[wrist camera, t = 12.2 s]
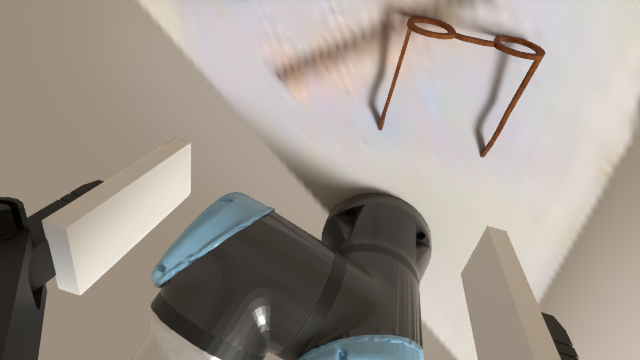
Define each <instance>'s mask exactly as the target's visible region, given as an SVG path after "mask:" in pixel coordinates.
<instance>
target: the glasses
mask: <svg viewBox="0 0 640 360" xmlns="http://www.w3.org/2000/svg"><path fill="white" fill-rule="evenodd" d="M414 23H428V24H433V25H436V26H439V27H442V28H444V29H445V30H447V31H448V33H437V32H432V31H428V30H424V29H422V28H419V27H417V26H416V25H415V24H414ZM407 27H408V30H407V34H406V37H405V41H404V44H403V47H402V51H401V54H400V57H399V61H398V64H397V68H396V71H395V74H394V78H393V81H392V84H391V88H390V91H389V94H388V97H387V101H386V104H385V107H384V109H383V112H382V115H381V119H380V124H379V130H382V128H383V125H384V120H385V115H386V112H387V109H388V105H389V102H390V99H391V96H392V93H393V90H394V87H395V83H396V80H397V77H398V73H399V70H400V67H401V64H402V60H403V57H404V54H405V50H406V47H407V44H408V41H409V37H410V34H411V31H414V32H416V33H418V34H421V35H424V36H428V37H432V38H438V39H453V38H456V39H459V40H462V41H465V42H470V43H474V44H479V45H483V46H489V47H495V48H496V49H498V50H500V51H502V52H505V53H507V54H510V55H513V56H516V57H520V58H524V59H530V60H534V62H533V63H532V65H531V67H530V69H529V71H528V72H527V74H526V76H525V78H524V79H523V81H522V83H521V85H520V87H519V88H518V90H517V92H516V94H515V95H514V97H513V99H512V101H511V102H510V104H509V106H508V108H507V110H506V111H505V113H504V115H503V117H502V119H501V121H500V123H499V125H498V127H497V129H496V131H495V133H494V135H493V136H492V138H491V140H490V141H489V143H488V144H487V146H486V147H485V149H484V150H483V152H482V155H481V157H483V158H484V157H485V155H486V154H487V152H488V151H489V150H490V148H491V147H492V146H493V144H494V142H495V141H496V139H497V137H498V136H499V134H500V132H501V131H502V129H503V127H504V125H505V123H506V121H507V119H508V117H509V115H510V114H511V112H512V110H513V108H514V107H515V105H516V103H517V101H518V100H519V98H520V96H521V95H522V93H523V91H524V89H525V88H526V86H527V84H528V82H529V81H530V79H531V77H532V76H533V74H534V72H535V70H536V69H537V67H538V65H539V63H540V62H541V60H542V58H543V57H544V55H545V51H544V50H543V49H542V48H541V47H539V46H538V45H536V44H534V43H532V42H529V41H526V40H523V39H520V38H515V37H511V36H496V37H495V39H494V41H488V40H483V39H479V38H474V37H470V36H466V35H462V34H459V33H456V31H455V29H454V28H453V27H452V26H450V25H449V24H447V23H444V22H441V21H438V20H434V19H430V18H424V17H412V18H410V19H408V22H407ZM501 41H507V42H513V43H517V44H521V45H524V46H526V47H529V48H531V49H532V50H534V51H535V52H536V53H535V54H532V53H525V52H520V51H517V50H514V49H511V48H509V47H506V46H505V45H503V44H502V43H501Z"/></svg>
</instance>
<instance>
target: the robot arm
mask: <svg viewBox="0 0 640 360" xmlns="http://www.w3.org/2000/svg"><path fill="white" fill-rule="evenodd" d="M190 193H191V142H189V141H185V140H182V139H178V138H174V139H172V140H171V141H169V142H168V143H166V144H164V145H163V146H162V147H160V148H158V149H156V150H155V151H153V152H152V153H150V154H148V155H147V156H145V157H144V158H142V159H141V160H139V161H137V162H135V163H134V164H132V165H131V166H129V167H127V168H126V169H124V170H122V171H121V172H119V173H118V174H116V175H114V176H113V177H111V178H110V179H108V180H106V181H105V182H104V181H100V180H97V181H94V182H91V183H88V184H85V185H82V186H80V187H79V188H77V189H76V190H74V191H72V192H71V193H70V194H67V195H65V196H64V197H62V198H61V199H60V200H57V201H55V202H53V203H52V204H50V205H48V206H47V207H45V208H43V209H41V210H40V211H38V212H36V213H35V214H33V215H32V216H30V217H28V218H27V216H26V212H25V208H24V205H23V203H22V202H21V201H20V200H18V199H15V198H10V197H0V360H38V354H39V347H40V339H41V332H42V324H43V316H44V309H45V302H46V295H47V289H46V284H45V283H47V282H48V281H49V280H50V279H52V278H53V277H54V276H56V280H57V284H58V287H59V289H62V290H65V291H68V292H71V293H74V294H77V295H82V293H84V292H85V291H86V290H87V289H88V288H89V287H90V286H91V285H92V284H93V283H94V282H95V281H97V280H98V279H99V278H100V277H101V276H102V275H103V274H104V273H105V272H106V271H107V270H109V269H110V268H111V266H113V265H114V264H115V263H116V262H117V261H118V260H119V259H120V258H121V257H123V256H124V255H125V254H126V253H127V252H128V251H129V250H130V249H131V248H132V247H133V246H135V245H136V244H137V243H138V242H139V241H140V240H141V239H142V238H143V237H144V236H145V235H146V234H147V233H148V232H150V231H151V230H152V229H153V228H154V227H155V226H156V225H157V224H158V223H159V222H160V221H161V220H163V219H164V218H165V217H166V216H167V215H168V214H169V213H170V212H171V211H172V210H173V209H175V208H176V207H177V206H178V205H179V204H180V203H181V202H182V201H183V200H184V199H185V198H186V197H187V196H188V195H190ZM274 210H275V209H274V208H272V207H266V206H265V205H263V204H261V203H260V202H258V201H256V200H254V199H253V198H250V197H249V196H247V195H245V194H243V193H237V192H235V193H230V194H227V195H225V196H223V197H221V198H219V199H218V200H217V201H215V202H214V203H213V204H212V205H210V206H209V207H208V208H207V209H206V210H205V211H204V212H203V213H201V214H200V215H199V217H197V218H196V219H195V220H194V221H193V222H192V223H191V224H190V225H189V226H188V227H187V229H185V231H184V232H183V233H182V234H181V235H180V236H179V237H178V238H177V239H176V240H175V242H174V243H173V244H172V245H171V246H170V247H169V249H168V250H167V251H166V253H165V254H164V255H163V257H162V259H161V260H160V261H159V263H158V264H157V265H156V266H155V267H154V269H153V271H152V273H151V280H152V282H153V283H154V286H155V287H157V288H160V287H161V290H160V292H159V293H158V295H157V296H156V298H155V299H154V301H153V302H152V304H151V305H150V306H149V315H150V321H151V326H152V331H151V334H150V336H149V337H148V339H147V340H146V342H145V343H144V345H143V346H142V348H141V349H140V350H139V352H138V353H137V355H136V356H135V358H134V359H133V360H263V359H264V357H265V355H266V354H267V353H268V352H270V353H273V354H274V355H276V356H278V357H280V358H282V359H283V360H423V359H424V354H423V346H422V328H421V310H420V292H419V283H420V281H421V279H422V277H423V275H424V272H425V270H426V268H427V266H428V264H429V261H430V257H431V250H432V247H431V235H430V231H429V228H428V225H427V223H426V221H425V220H424V218H423V217H422V215H421V214H420V213H419V212H418V211H417V210H416V209H415V208H413V207H412V206H411V205H409V204H408V203H406V202H404V201H402V200H400V199H398V198H395V197H392V196H389V195H384V194H362V195H357V196H354V197H351V198H348V199H346V200H345V201H343V202H341V203H340V204H338V205H337V206H336V207H335V208H334V209H333V210H332V212H331V213H330V214H329V216H328V218H327V220H326V223H325V226H324V229H323V232H322V241H320V240H318V239H317V238H315V237H314V236H312V235H311V234H309V233H307V232H306V231H304V230H302V229H301V228H299V227H298V226H296V225H295V224H293V223H291V222H290V221H288V220H286V219H285V218H283V217H282V216H280V215H279V214H277V213H276V212H274ZM461 277H462V282H463V287H464V292H465V297H466V302H467V307H468V312H469V317H470V322H471V327H472V332H473V336H474V341H475V346H476V351H477V356H478V360H578V358H579V357H578V355H577V353H576V351H575V349H574V348H572V346H573V345H572V343H571V341H570V339H569V337H568V334H567V332H566V330H565V329H564V328H563V327H562V326H561V325H560V323H559V322H558V321H557V320H556V319H555V318H554V316H552V315H548V314H545V313H542V312H541V311H540V309H539V307H538V304H537V302H536V300H535V297H534V295H533V293H532V290H531V288H530V286H529V283H528V281H527V279H526V276H525V274H524V272H523V269H522V267H521V265H520V262H519V260H518V258H517V255H516V253H515V251H514V248H513V246H512V244H511V241H510V239H509V237H508V234H507V232H506V231H503V230H500V229H496V228H492V227H489V226H487V228H486V230H485V231H484V233H483V235H482V237H481V239H480V240H479V242H478V244H477V246H476V248H475V250H474V251H473V253H472V255H471V257H470V259H469V260H468V262H467V264H466V266H465V268H464V270H463V271H462V273H461Z"/></svg>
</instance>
